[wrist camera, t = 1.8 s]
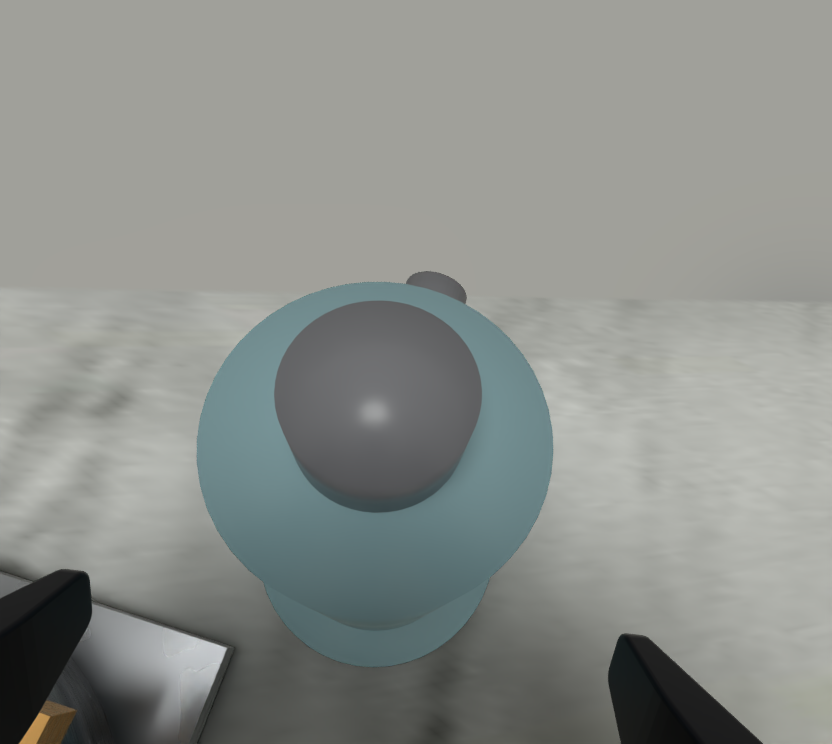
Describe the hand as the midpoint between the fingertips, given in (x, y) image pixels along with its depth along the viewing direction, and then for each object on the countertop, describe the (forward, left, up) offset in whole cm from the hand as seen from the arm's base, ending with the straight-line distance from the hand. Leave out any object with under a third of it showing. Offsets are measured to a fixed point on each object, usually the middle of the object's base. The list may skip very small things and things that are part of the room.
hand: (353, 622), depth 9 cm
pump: (+3, 0, -10) cm, 11 cm away
